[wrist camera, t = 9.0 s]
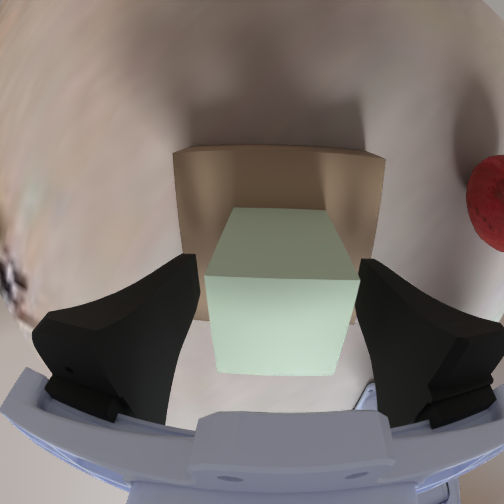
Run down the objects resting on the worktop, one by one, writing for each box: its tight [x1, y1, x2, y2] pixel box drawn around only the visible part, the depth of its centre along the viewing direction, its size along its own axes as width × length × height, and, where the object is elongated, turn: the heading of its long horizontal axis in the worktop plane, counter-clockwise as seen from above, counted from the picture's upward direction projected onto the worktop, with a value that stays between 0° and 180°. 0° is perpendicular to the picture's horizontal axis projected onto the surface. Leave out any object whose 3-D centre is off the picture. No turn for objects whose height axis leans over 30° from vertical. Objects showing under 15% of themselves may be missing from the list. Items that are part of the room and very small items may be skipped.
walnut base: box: [173, 144, 386, 325], centre depth 15 cm, size 10×10×3 cm
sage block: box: [204, 207, 360, 376], centre depth 11 cm, size 4×4×6 cm
